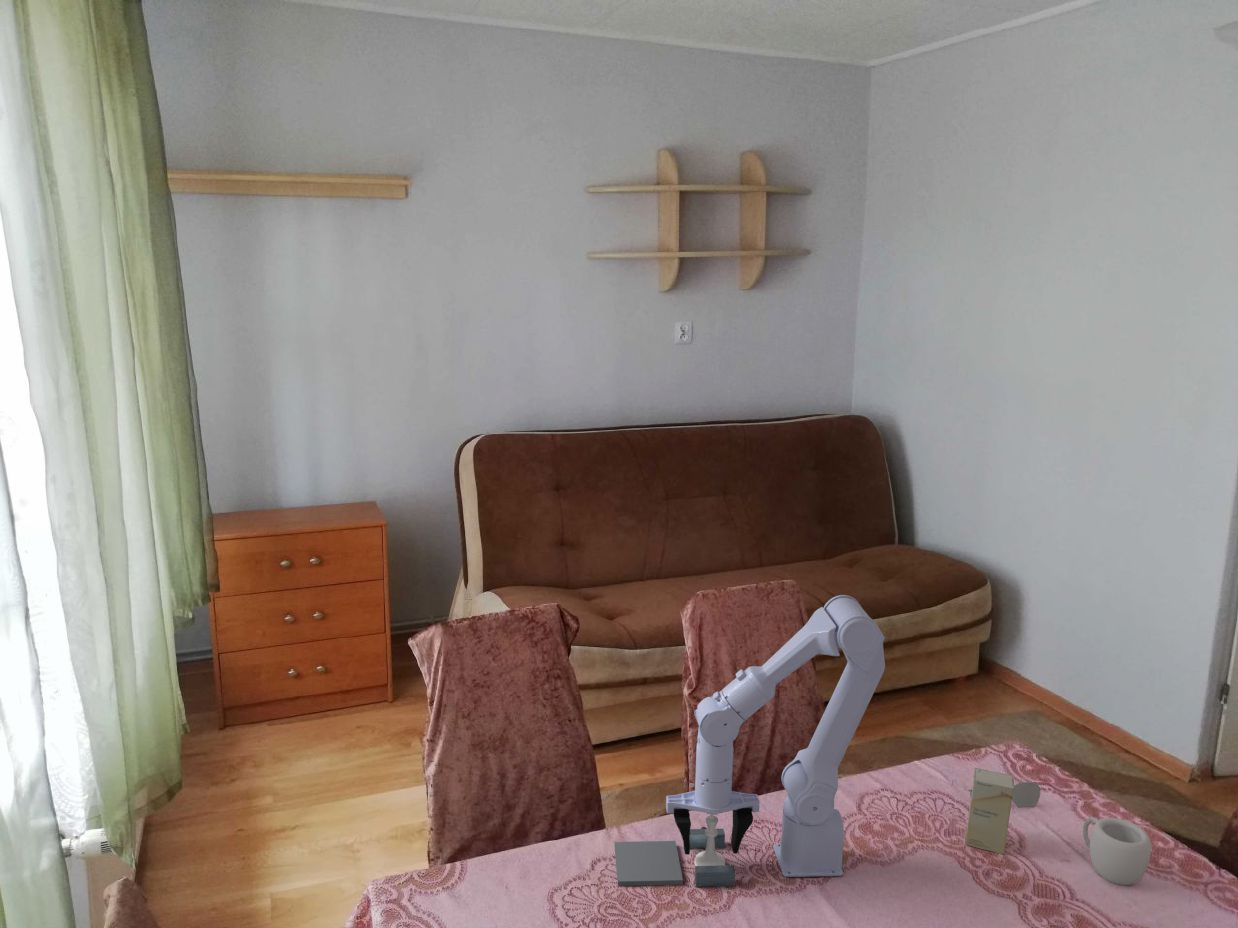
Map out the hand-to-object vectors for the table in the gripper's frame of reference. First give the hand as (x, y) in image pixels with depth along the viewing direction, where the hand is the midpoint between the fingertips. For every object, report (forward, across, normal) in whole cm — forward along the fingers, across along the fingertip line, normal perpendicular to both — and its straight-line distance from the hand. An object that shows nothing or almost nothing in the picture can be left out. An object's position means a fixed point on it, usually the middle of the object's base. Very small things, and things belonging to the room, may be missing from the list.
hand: (710, 850), depth 151 cm
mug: (+3, -64, +3) cm, 64 cm away
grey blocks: (+2, 0, 0) cm, 2 cm away
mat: (+2, +10, 0) cm, 10 cm away
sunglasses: (+3, -55, -18) cm, 58 cm away
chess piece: (+3, 0, 0) cm, 3 cm away
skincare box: (+3, -47, -4) cm, 47 cm away
